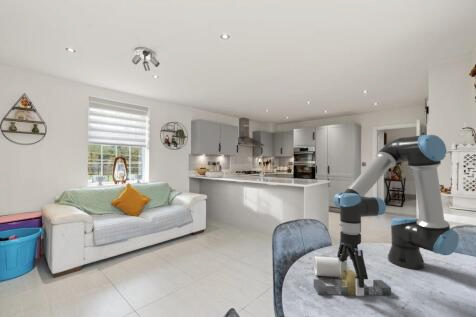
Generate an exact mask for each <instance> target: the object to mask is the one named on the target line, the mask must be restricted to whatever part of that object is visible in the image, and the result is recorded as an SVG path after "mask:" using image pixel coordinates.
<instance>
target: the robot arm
mask: <svg viewBox="0 0 476 317" xmlns="http://www.w3.org/2000/svg"><path fill="white" fill-rule="evenodd" d="M446 155H447V146H446V144H445V142H444V141H443V139H442V138H441V137H440V136H438V135H435V134H422V135H413V136H406V137H398V138H396V139H394V140H392V141H390V142H389V143H387V144H386V145H384V146H383V147H382V148H381V149H380V150H379V151H378V152H377V153H376V155H375V158H374V159H373V161H372V162H371V163H370V164H369V165H368V166H367V167H366V168H365V169H364V170H363V171H362V172H361V173H360V174H359V176H357V178H356V179H355V180H354V181H353V182H352V183H351V184H350V185H349V187H347V189H346V190H344V192H337V193H336V194H335V195H334V196H333V203H334V205H335V207H336V208H338V209H339V220H340V223H339V227H340V233H339V234H340V235H339V236H340V239H339V240H340V241H339V247H338V251H337V256H336V258H338V260H339V262H340V277H339V278H342V270H348V262H347V261H348V257H349V259H350V260H351V262H352V264H353V267H354V273H355V274H356V275H357V276H356V277H355V278H356V295H355V296H358V297H359V296H360V297H365V295H364V284H365V280H368V279H369V276H368V273H367V267H366V264H365V259H364V252H363V249H359V247H358V245H361V244H362V234H361V233H362V218H363V217H377V216H381V215H384V214H385V213H386V210H387V204H386V201H384V200H383V199H382V198H380V197H376V196H375V197H374V196H371V197H368V196H366V195H367V194H368V192H369V191H370V190H371V189H372V188H373V187H374V186H375V184H377V183H378V181H379V180H380V179H381V178H382V177H383V176H384V174H386V173H387V171H388V170H389V169H390V168H393V167H395V166H396V165H397V164H398V163H400V162H407V166H408V167H409V168H411V169H412V173H413V180H414V186H415V187H414V188H415V194H416V200H417V206H418V207H417V208H418V214H419V218H416V217H406V216H405V217H404V216H401V217H400V216H398V217H397V216H396V217H393V218H391V225H390V229H391V230H390V232H391V235H390V236H391V247H390V248H389V252H388V253H387V260H388V262H390V263H392V264H393V265H395V266H398V267H402V268H406V269H409V270H410V269H412V270H421V269H424V268H425V261H424V258H423V255H422V253H421V251H420V249H422V250H426V251H428V252H432V253H434V254H436V255H441V256H450V255H452V254H453V253H454V252H455V251H456V249H457V248H458V246H459V239H460V237H459V234H458V233H457V231H455V230H454V229H451V224H450V223H449V222H448V221H447V220H446V219H445V215H444V209H443V208H444V207H443V201H442V196H441V195H442V193H441V186H440V179H439V174H438V173H439V172H438V167H439V166H440V165H441V164H442V162H441V161H443V160H444V159H445V157H446Z"/></svg>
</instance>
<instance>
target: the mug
mask: <svg viewBox="0 0 476 317" xmlns="http://www.w3.org/2000/svg"><path fill="white" fill-rule="evenodd" d="M313 259H314V260H313V266H314V274H315V276H319V277H328V278H330V277H331V278H341V277H340V261H339V258H338V257H330V256H314V258H313Z"/></svg>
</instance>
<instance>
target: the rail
mask: <svg viewBox="0 0 476 317" xmlns="http://www.w3.org/2000/svg"><path fill="white" fill-rule="evenodd" d="M333 283H334V284H333V285H327V284H326V283H325V282H324V280H323V279H321V278H320V279H319V278H316V279H315V278H313V288H314V289H315V292H316V293H317V295H318V296H357V295H356V293H348V287H347V286H346V285H345V283H344V282H343V281H342V279H339V278H337V279H334V282H333ZM364 296H380V297H381V296H383V297H384V296H386V297H387V296H389V297H390V296H392V287H391V286H390V285H388V284H387V282H384V280H382V279H372V285H371V286H368V285H367V284H366V283H364Z"/></svg>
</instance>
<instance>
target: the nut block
mask: <svg viewBox="0 0 476 317" xmlns="http://www.w3.org/2000/svg"><path fill="white" fill-rule="evenodd" d="M356 276H357V275H356V272H355V271H353V270H352V269H349V270H348V269H347V270H342V277H341V278H342V279H341V280H342V281H343V282H344V283H345V285H346V286H347V287H348V293H356V278H355V277H356Z"/></svg>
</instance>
